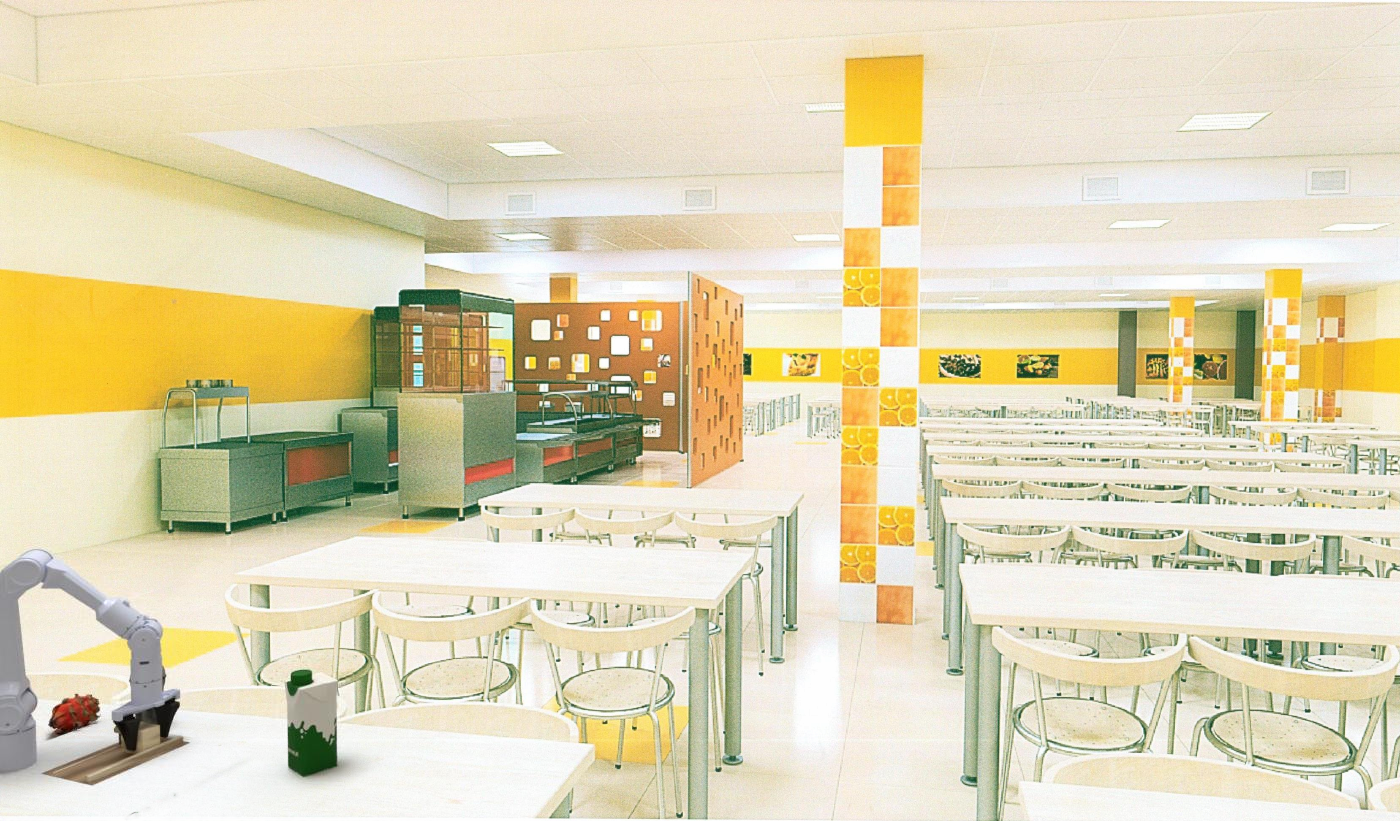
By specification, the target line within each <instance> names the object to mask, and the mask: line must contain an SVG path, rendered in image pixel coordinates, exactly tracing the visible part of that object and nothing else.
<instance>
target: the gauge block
mask: <svg viewBox="0 0 1400 821" xmlns="http://www.w3.org/2000/svg"><path fill="white" fill-rule="evenodd" d="M113 732H114V733H115V734H118V742H119V745H121V744H122V752H126V753H131V754H138V753H140V752H143V751H145V750H147V749H150V748H152V747H154V746H157V745H159V744H160V725H156V724H151V723H146V722H140V725H139V729H138V736H137V747H136V750H135V751H130V750H127V749H126V745H125V742H124V739H123V737H122V735H121V733H120V731H119V729H118V728H117V726H116V725H115V727H114V728H113Z"/></svg>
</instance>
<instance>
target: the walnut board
mask: <svg viewBox="0 0 1400 821" xmlns="http://www.w3.org/2000/svg"><path fill="white" fill-rule="evenodd" d="M190 743H191V742H189V741H184V736H181V735H178V736H176V737H173V738H171V737H167V738H163V737H160V744H159V745H157V746H154V747H152V748H150V749H147V750H145V751H143V752H140V753H138V754H131V753H126V752H122V744H121V745H119V741H118V742H115V743H113V744H110V745H108V746H106V747H104V748H101V749H99V750H96V751H93V752H91V753H89V754H86V755H83V756H81V757H79V758H76V759H74V760H71V761H69V762H67V763H64V764H61V765H58V766H56V767H54V768H51V769H49V770H46V771H44V772H42V773H41V774H42V775H45V776H50V777H53V778H58V779H62V780H66V781H71V782H76V783H80V784H84V785H89V786H95V785H96V784H99V783H102V782H104V781H106V780H108V779H111V778H113V777H115V776H118V775H120V774H123V773H125V772H126V771H129V770H131V769H133V768H136V767H139V766H140V765H143V764H145V763H148V762H150V761H152V760H153V759H156V758H159V757H160V756H163V755H165V754H168V753H170V752H172V751H174V750H177V749H179V748H182V747H184V746H186V745H189V744H190Z"/></svg>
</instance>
